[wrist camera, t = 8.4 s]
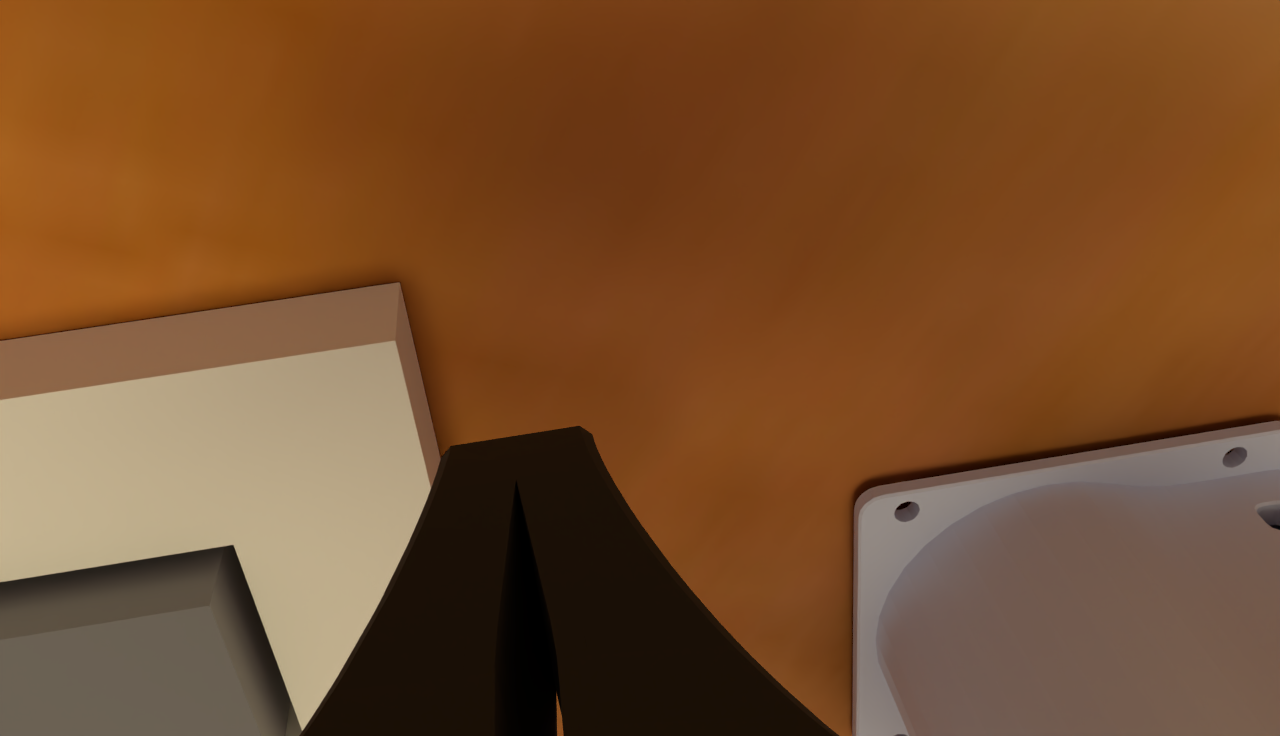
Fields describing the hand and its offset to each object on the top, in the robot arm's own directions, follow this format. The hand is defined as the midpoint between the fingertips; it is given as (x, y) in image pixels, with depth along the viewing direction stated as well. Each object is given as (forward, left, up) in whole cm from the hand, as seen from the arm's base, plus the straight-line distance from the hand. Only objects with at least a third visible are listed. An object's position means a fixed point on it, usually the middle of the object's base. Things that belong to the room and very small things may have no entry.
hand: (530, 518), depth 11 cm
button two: (+8, +8, -9) cm, 15 cm away
